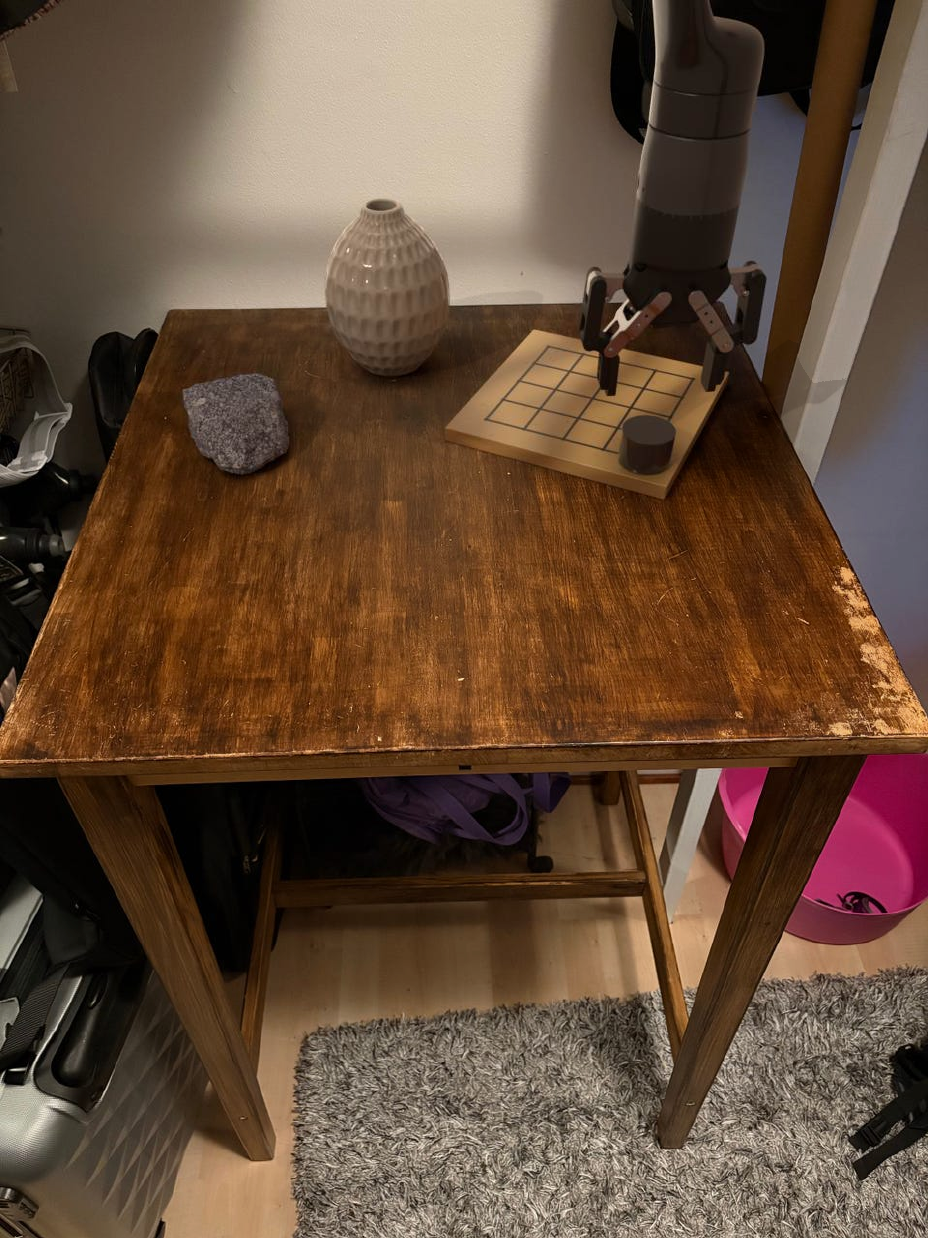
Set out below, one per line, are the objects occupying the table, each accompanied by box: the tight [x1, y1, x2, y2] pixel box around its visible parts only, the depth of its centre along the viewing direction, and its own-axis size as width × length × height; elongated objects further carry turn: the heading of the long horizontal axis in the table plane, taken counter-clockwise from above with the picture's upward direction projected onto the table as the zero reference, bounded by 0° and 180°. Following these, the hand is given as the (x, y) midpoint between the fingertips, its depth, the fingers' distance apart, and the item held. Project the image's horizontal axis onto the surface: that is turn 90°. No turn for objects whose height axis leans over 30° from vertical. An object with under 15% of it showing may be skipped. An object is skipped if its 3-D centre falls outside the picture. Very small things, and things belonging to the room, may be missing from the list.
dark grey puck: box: [618, 415, 676, 475], centre depth 82 cm, size 5×5×3 cm
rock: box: [182, 373, 290, 475], centre depth 86 cm, size 12×5×10 cm
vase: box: [324, 197, 451, 378], centre depth 93 cm, size 13×13×17 cm
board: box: [444, 329, 730, 501], centre depth 91 cm, size 22×22×2 cm
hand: (658, 389), depth 78 cm, fingers open, 8 cm apart
